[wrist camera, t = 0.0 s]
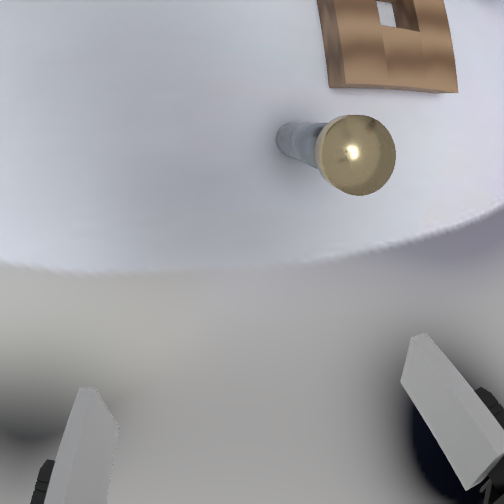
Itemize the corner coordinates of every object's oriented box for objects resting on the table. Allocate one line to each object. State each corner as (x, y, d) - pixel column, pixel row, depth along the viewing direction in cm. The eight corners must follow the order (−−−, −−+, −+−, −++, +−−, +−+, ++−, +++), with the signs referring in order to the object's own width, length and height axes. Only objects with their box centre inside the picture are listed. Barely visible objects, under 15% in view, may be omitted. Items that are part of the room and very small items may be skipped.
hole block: (306, -50, 25) (317, -68, 21) (412, -31, 26) (431, -42, 22) (329, 87, 33) (345, 83, 29) (435, 93, 34) (458, 92, 30)
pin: (268, 119, 34) (319, 116, 18) (312, 116, 34) (393, 115, 18) (273, 163, 36) (325, 199, 20) (316, 159, 36) (396, 192, 20)
